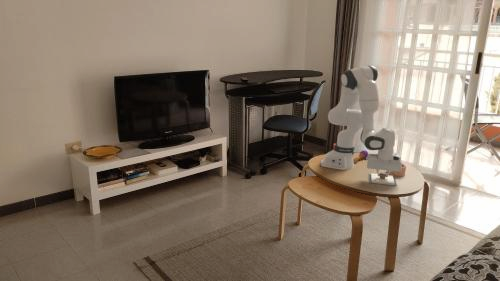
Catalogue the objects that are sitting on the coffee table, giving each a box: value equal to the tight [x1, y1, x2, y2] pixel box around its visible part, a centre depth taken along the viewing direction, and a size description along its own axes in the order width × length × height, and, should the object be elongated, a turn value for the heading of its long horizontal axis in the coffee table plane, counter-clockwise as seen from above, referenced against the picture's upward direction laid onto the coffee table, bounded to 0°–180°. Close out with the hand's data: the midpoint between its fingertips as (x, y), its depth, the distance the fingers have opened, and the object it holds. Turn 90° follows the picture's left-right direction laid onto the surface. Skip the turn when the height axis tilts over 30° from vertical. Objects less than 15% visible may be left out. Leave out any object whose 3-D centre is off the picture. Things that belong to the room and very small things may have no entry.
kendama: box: [353, 149, 369, 165], centre depth 271 cm, size 6×6×20 cm
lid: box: [370, 171, 394, 186], centre depth 235 cm, size 13×13×4 cm
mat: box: [368, 173, 398, 187], centre depth 236 cm, size 16×16×1 cm
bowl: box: [386, 163, 407, 177], centre depth 247 cm, size 11×11×6 cm
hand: (382, 176), depth 235 cm, fingers closed on lid, 3 cm apart
